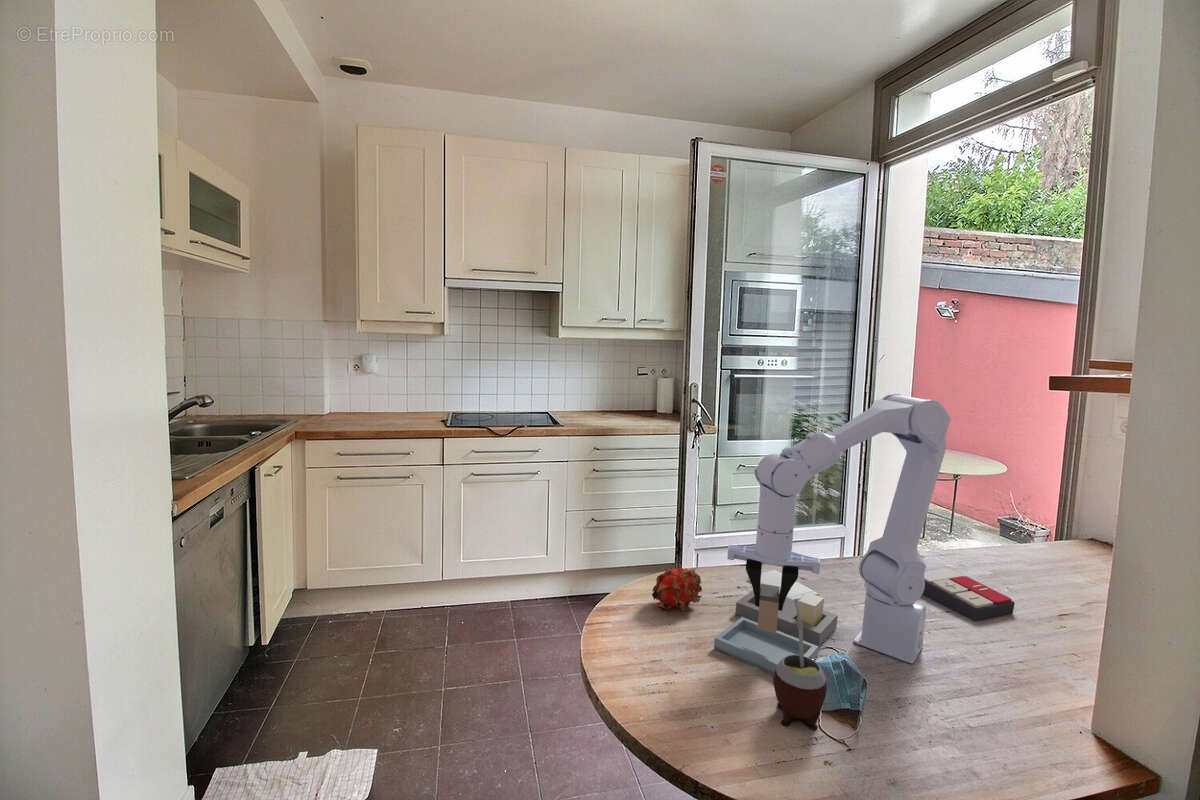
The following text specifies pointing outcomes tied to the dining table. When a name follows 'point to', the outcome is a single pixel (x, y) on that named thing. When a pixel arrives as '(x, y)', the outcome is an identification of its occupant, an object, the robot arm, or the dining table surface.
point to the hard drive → (775, 580)
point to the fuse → (811, 609)
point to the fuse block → (790, 620)
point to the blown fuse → (768, 608)
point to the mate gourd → (799, 685)
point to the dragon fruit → (677, 588)
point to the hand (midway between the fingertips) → (768, 605)
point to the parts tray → (760, 645)
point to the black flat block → (966, 595)
